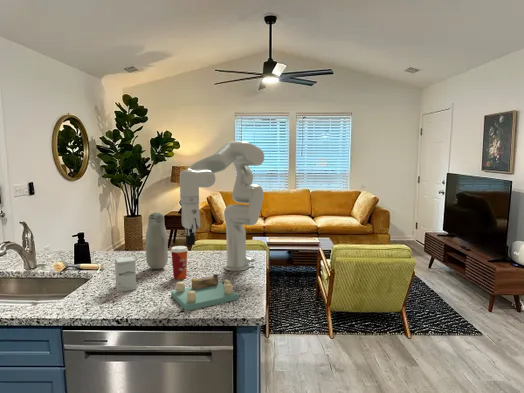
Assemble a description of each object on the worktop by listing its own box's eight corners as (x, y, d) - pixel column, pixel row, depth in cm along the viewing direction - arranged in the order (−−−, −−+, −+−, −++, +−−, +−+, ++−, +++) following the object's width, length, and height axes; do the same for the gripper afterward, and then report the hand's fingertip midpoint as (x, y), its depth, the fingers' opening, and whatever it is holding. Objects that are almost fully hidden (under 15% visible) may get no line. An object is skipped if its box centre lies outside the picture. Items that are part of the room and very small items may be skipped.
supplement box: (117, 292, 148) (116, 262, 147) (115, 287, 155) (114, 258, 154) (136, 289, 152) (135, 260, 151) (134, 284, 158) (132, 255, 157)
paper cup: (184, 280, 163) (183, 249, 162) (168, 279, 164) (167, 249, 163) (191, 275, 171) (190, 245, 169) (175, 274, 172) (175, 245, 171)
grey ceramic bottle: (142, 270, 178) (140, 213, 175) (156, 264, 188) (154, 210, 185) (159, 272, 174) (157, 214, 172) (172, 266, 184) (170, 211, 181)
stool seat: (219, 286, 155) (219, 273, 155) (238, 299, 141) (238, 285, 140) (171, 295, 145) (171, 282, 144) (186, 311, 130) (185, 296, 130)
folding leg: (216, 282, 153) (216, 273, 153) (219, 284, 151) (218, 275, 151) (191, 287, 147) (191, 277, 147) (193, 289, 145) (193, 279, 145)
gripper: (205, 201, 145) (206, 247, 147) (191, 198, 158) (192, 240, 159) (187, 202, 141) (188, 249, 143) (174, 199, 154) (175, 242, 156)
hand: (190, 244), depth 151 cm, fingers closed
